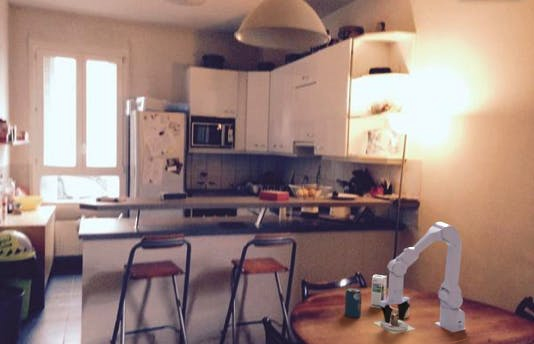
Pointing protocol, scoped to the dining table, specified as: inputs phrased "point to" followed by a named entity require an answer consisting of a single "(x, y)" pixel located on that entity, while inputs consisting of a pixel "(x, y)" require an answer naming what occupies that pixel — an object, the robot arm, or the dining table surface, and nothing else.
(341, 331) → the dining table surface
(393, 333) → the mat
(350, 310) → the soda can
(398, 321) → the lid
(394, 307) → the bowl
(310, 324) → the dining table surface
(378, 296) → the syrup box
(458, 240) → the robot arm
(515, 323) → the dining table surface
